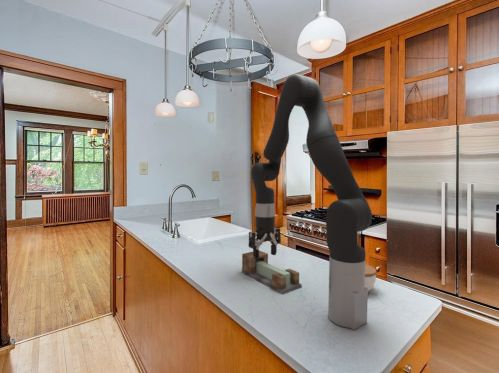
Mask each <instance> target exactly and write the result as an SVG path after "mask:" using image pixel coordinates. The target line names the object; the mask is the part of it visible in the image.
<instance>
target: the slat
mask: <svg viewBox="0 0 499 373" xmlns="http://www.w3.org/2000/svg"><path fill="white" fill-rule="evenodd" d="M255 272H256V273H258V274H260V275H262V276H264V277H266V278H268V279H270V280H272V274H273V273H278V274H281V275H283V276H285V277H286V285H289V284H290V273H289V272H287V271H285V270H284V269H283V268H282V269H281V268H279V267H278V266H275V265H272V264H269V262H268V263H266V262H263V261H261V260H259V259H255Z"/></svg>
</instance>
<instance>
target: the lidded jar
mask: <svg viewBox="0 0 499 373" xmlns="http://www.w3.org/2000/svg"><path fill="white" fill-rule="evenodd" d="M376 278H377V269H376V268H375V267H373V266H372V265H368V264H366V263H365V287H366V288H368V292H370V291H371V290H372V289H373V288H374V286H375V283H376V280H377V279H376Z"/></svg>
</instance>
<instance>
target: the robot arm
mask: <svg viewBox="0 0 499 373" xmlns="http://www.w3.org/2000/svg"><path fill="white" fill-rule="evenodd" d="M295 106H296V107H299V108H300V107H301V108H302V109H303V112H304V114H305V116H306V119H307V121H308V127H307V133H306V140H305V141H306V144H305V145H306V148H307V151H308V153H309V156H310V159H311V161H312V163H313V165H314V167H315V168H316V170H317V171H318V172H319V173H320V174H321V175H322V177H323V178H324V179H325V180H326V181H327V182H328V184H330V186H331V187H332V189H333V191H334V193H335V195H336V198H337V200H334V201H332V202H331V203H330V204H329V205H328V208H327V211H326V214H325V215H326V216H325V217H326V218H325V226H326V232H325V234H326V246H327V247H328V251H329V262H328V263H329V265H328V266H329V269H328V303H327V304H328V306H327V307H328V309H327V315H328V318H329V320H330V321H331V322H332V323H334V324H335V325H337V326H340V327H343V328H347V329H352V330H353V331H355V330H357V329H359V328H360V327H361V326H364V325H365V324H366V323H368V302H369V301H368V299H369V298H368V296H369V294H368V293H369V291H368V288H366V287H365V264H366V250H365V248H364V247H363V246H360V245H359V243H358V233H359V232H363V231H365V230H367V229H368V228H370V226H371V224H372V220H373V214H372V209H371V207H370V204H369V203H368V201H367V199H366V196H365V195H364V194H363V192H362V190H361V188H360V186H359V184H358V182H357V181H356V178H355V176H354V174H353V172H352V169H351V167H350V165H349V162H348V159H347V158H346V154H345V153H344V149H343V147H342V144H341V141H340V139H339V137H338V135H337V133H336V131H335V128H334V126H333V122H332V120H331V117H330V116H329V112H328V111H327V107H326V103H325V100H324V96H323V93H322V89H321V87H320V83H318V81H317V80H316V79H314V78H312V77H309V76H305V75H302V74H299V73H293V74H291V75H289V76H288V77H287V78H286V80H284V83H283V85H282V87H281V91H280V95H279V99H278V104H277V107H276V112H275V117H274V121H273V124H272V129H271V132H270V134H269V136H268V139H267V142H266V144H265V147H264V149H263V154H262V155H263V157H264V158H265V159H266V160H268V162H256V163H254V164H253V165H252V167H251V171H250V175H251V179H252V184H253V186H254V190H255V210H254V212H255V213H254V214H255V216H254V217H255V219H254V220H255V221H254V222H255V224H254V225H255V229H256V230H255V231H249V232H248V248H249V249H252V252H253V257H254V258H255V259H259V251H260V249H259V248H260V247H261V245H263V243H266V242H270V255H272V256H276V255H277V252H278V251H277V246H278V245H279V244H281V242H282V240H281V239H282V238H281V237H282V236H281V228H279V227H275V226H276V207H275V190H274V189H273V188H272V187H269V186H267V184H266V182H273V181H275V180H276V179H277V178H278V176H279V174H280V171H281V163H282V157H283V156H284V154H285V151H286V150H287V147H288V144H289V140H290V128H289V123H290V117H291V114H292V111H293V110H294V107H295Z"/></svg>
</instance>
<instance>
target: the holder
mask: <svg viewBox="0 0 499 373" xmlns="http://www.w3.org/2000/svg"><path fill="white" fill-rule="evenodd" d="M241 257H242V258H241V261H242V262H241V265H242V267H241V273H242V274H244V275H246V276H248V277H250V278H251V279H253V280H255V281H258V282H260V283H261V284H263V285H266V286H267V287H269V288H270V289H272V290H275V291H277V292H278V293H280V294H281V295H285V294H288V293H290V292H293V291H296V290H298V289H300V288H302V287H303V286H302V283H300V272H299V271H296V270H294V269H292V268H287V269H285V270H284V271H287V272H289V273H290V284H289V285H286V277H285V276H283V275H281V274H278V273H273V274H272V280H270V279H268V278H266V277H264V276H262V275H260V274H258V273H256V272H255V258H254V257H253V251H250V252H246V253H242V255H241ZM259 260H261V261H263V262H266V263H268V264H269V254H268V253H266V252H265V251H261V250H259Z"/></svg>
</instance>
